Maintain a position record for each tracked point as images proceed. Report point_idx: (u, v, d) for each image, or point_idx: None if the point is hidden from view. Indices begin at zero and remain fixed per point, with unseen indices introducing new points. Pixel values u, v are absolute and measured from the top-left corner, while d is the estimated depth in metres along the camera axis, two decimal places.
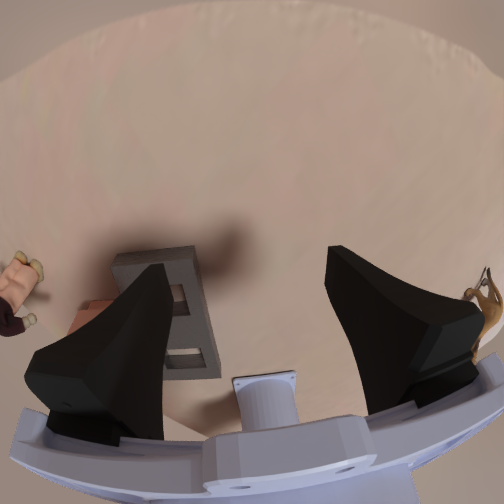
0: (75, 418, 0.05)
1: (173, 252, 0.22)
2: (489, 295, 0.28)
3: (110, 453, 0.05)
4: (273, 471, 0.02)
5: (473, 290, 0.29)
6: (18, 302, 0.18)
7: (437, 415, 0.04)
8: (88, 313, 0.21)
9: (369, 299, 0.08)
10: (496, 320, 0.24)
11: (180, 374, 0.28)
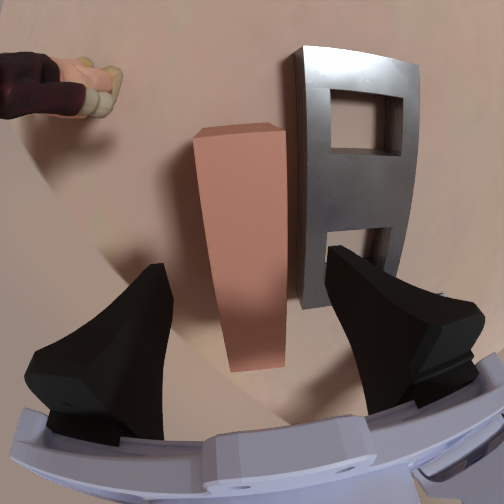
0: (75, 418, 0.05)
1: None
2: None
3: (110, 453, 0.05)
4: (273, 471, 0.02)
5: None
6: None
7: (437, 416, 0.04)
8: (232, 125, 0.11)
9: (369, 299, 0.08)
10: None
11: None
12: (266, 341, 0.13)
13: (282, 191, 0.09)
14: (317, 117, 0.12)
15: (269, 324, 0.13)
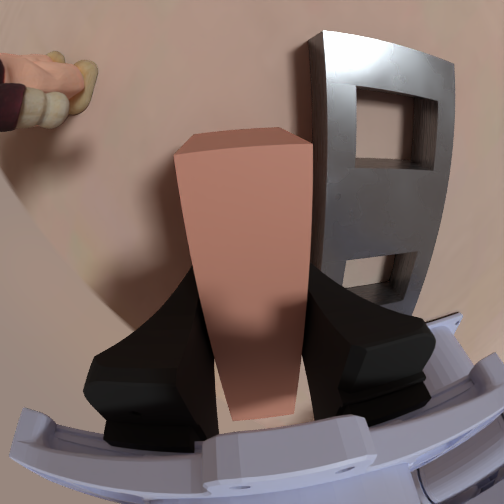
0: (141, 427, 0.05)
1: None
2: None
3: (110, 453, 0.05)
4: (273, 471, 0.02)
5: None
6: (25, 85, 0.05)
7: (437, 416, 0.04)
8: (232, 131, 0.09)
9: (310, 309, 0.08)
10: None
11: None
12: (274, 394, 0.10)
13: (304, 230, 0.07)
14: (340, 121, 0.09)
15: (278, 379, 0.10)
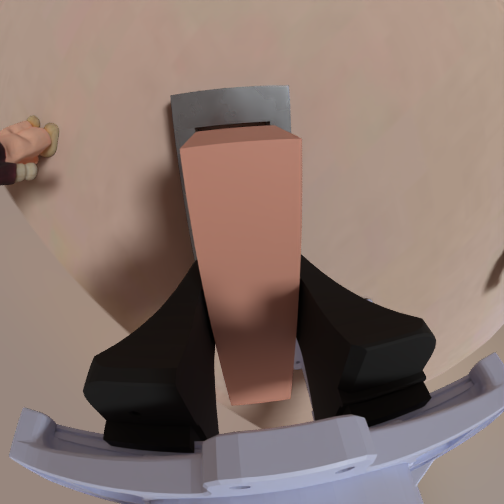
0: (141, 427, 0.05)
1: None
2: None
3: (110, 453, 0.05)
4: (273, 471, 0.02)
5: None
6: (16, 154, 0.11)
7: (437, 416, 0.04)
8: (232, 129, 0.09)
9: (310, 309, 0.08)
10: None
11: None
12: (271, 377, 0.11)
13: (296, 216, 0.07)
14: None
15: (275, 361, 0.11)
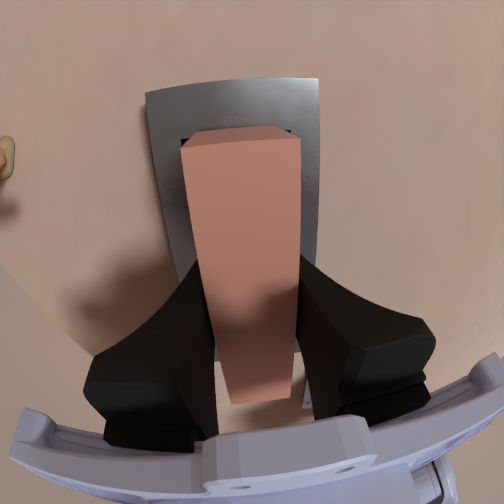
0: (141, 427, 0.05)
1: None
2: None
3: (110, 453, 0.05)
4: (273, 471, 0.02)
5: None
6: None
7: (437, 416, 0.04)
8: (231, 129, 0.09)
9: (310, 309, 0.08)
10: None
11: None
12: (270, 375, 0.11)
13: (294, 215, 0.08)
14: (168, 177, 0.11)
15: (274, 359, 0.11)
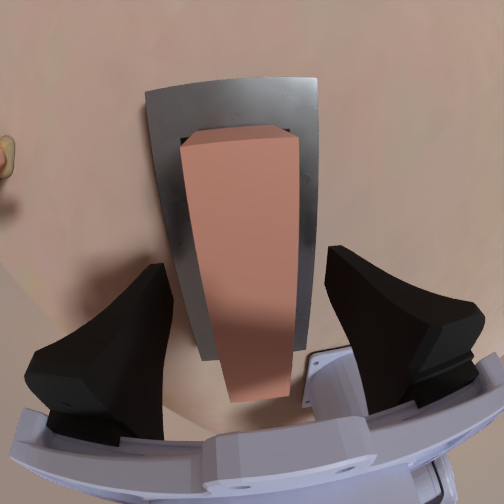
0: (75, 418, 0.05)
1: None
2: None
3: (110, 453, 0.05)
4: (273, 471, 0.02)
5: None
6: None
7: (437, 416, 0.04)
8: (231, 128, 0.09)
9: (369, 299, 0.08)
10: None
11: None
12: (269, 373, 0.11)
13: (293, 213, 0.08)
14: (168, 175, 0.11)
15: (273, 357, 0.11)
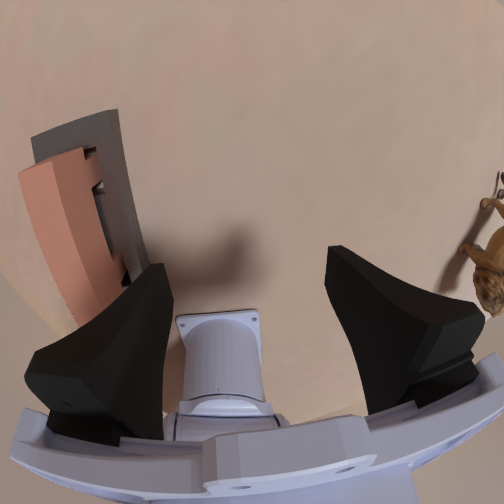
0: (75, 418, 0.05)
1: None
2: None
3: (110, 453, 0.05)
4: (273, 471, 0.02)
5: (489, 199, 0.22)
6: None
7: (438, 415, 0.04)
8: (60, 154, 0.14)
9: (369, 299, 0.08)
10: None
11: None
12: (87, 301, 0.16)
13: (57, 196, 0.12)
14: None
15: (82, 287, 0.16)
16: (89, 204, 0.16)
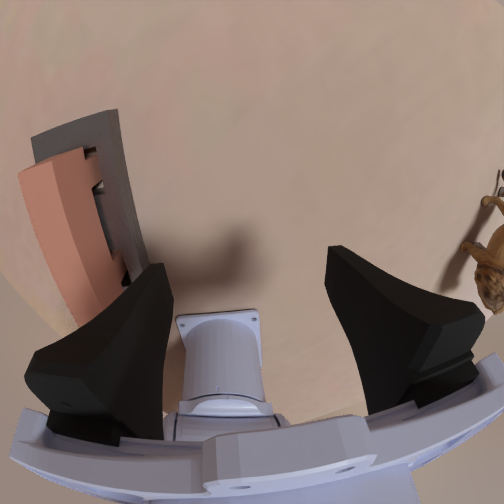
0: (75, 418, 0.05)
1: None
2: None
3: (110, 453, 0.05)
4: (273, 471, 0.02)
5: (490, 197, 0.21)
6: None
7: (438, 415, 0.04)
8: (60, 154, 0.14)
9: (369, 299, 0.08)
10: None
11: None
12: (87, 301, 0.16)
13: (57, 196, 0.12)
14: None
15: (82, 287, 0.16)
16: (89, 204, 0.16)
